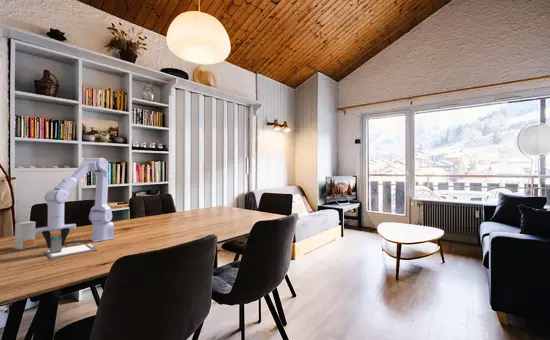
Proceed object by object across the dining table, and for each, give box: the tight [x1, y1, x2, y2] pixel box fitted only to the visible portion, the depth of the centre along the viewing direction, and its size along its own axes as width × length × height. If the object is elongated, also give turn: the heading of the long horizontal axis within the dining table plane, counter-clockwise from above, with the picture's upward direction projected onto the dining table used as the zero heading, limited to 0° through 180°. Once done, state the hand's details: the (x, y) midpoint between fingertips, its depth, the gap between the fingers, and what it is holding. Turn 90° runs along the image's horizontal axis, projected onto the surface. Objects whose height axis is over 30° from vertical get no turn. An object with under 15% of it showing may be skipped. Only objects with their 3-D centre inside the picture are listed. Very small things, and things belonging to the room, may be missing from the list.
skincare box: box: [14, 220, 37, 250], centre depth 127 cm, size 6×4×12 cm
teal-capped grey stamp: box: [49, 235, 63, 254], centre depth 120 cm, size 4×4×7 cm
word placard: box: [65, 241, 83, 247], centre depth 133 cm, size 6×4×1 cm, turn 139°
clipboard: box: [43, 243, 98, 260], centre depth 124 cm, size 17×14×1 cm
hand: (55, 246), depth 120 cm, fingers open, 4 cm apart
